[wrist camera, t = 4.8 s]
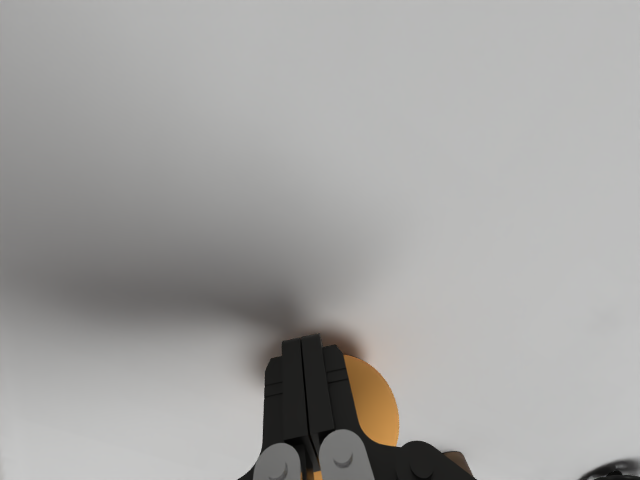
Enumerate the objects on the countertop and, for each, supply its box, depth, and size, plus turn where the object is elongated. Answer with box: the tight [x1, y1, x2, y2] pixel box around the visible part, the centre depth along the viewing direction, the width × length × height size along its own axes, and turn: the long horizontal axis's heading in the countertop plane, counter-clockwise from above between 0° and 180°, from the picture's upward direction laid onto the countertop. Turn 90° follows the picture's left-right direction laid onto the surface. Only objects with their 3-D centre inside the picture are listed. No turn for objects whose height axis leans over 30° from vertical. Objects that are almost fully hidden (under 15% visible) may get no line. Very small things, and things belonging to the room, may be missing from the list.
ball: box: [314, 355, 399, 480], centre depth 13 cm, size 5×5×5 cm
